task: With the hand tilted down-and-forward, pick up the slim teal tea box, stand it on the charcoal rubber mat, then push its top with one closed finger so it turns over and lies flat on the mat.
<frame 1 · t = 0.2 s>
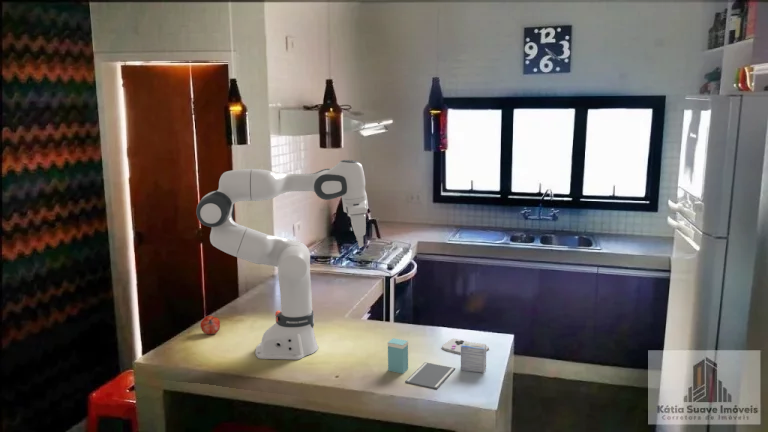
hand: (360, 243, 217), 39 cm above the worktop, tool pointing down, fingers open, 8 cm apart
handheld gaming console: (464, 350, 221), on the worktop
tea box: (398, 369, 204), on the worktop
orange pumpkin: (210, 333, 240), on the worktop
medicine box: (473, 369, 204), on the worktop
mat: (430, 375, 199), on the worktop
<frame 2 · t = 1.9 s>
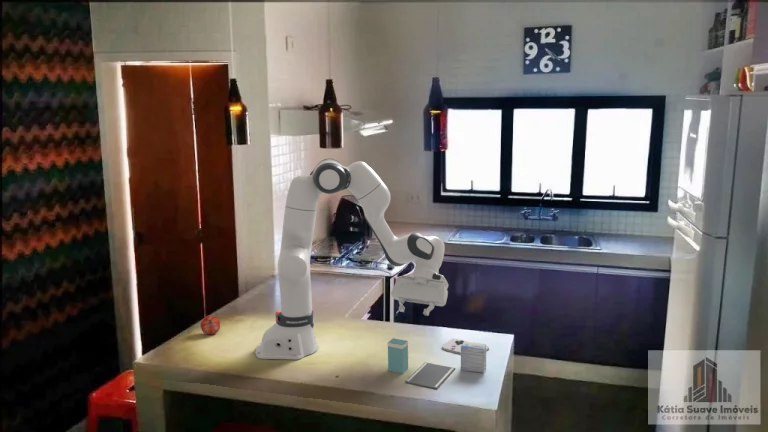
hand: (413, 312, 212), 16 cm above the worktop, tool tilted 45°, fingers open, 8 cm apart
nothing on the worktop moved.
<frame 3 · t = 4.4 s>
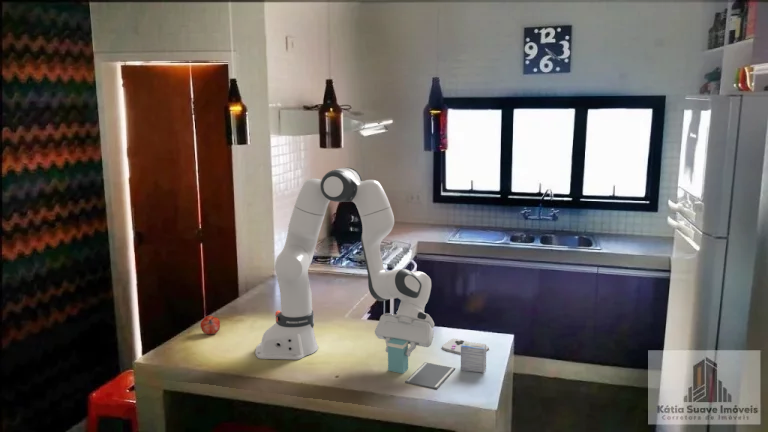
hand: (397, 353, 203), 6 cm above the worktop, tool tilted 45°, fingers closed on tea box, 5 cm apart
tea box: (398, 369, 204), on the worktop, touching gripper
everything else where it was.
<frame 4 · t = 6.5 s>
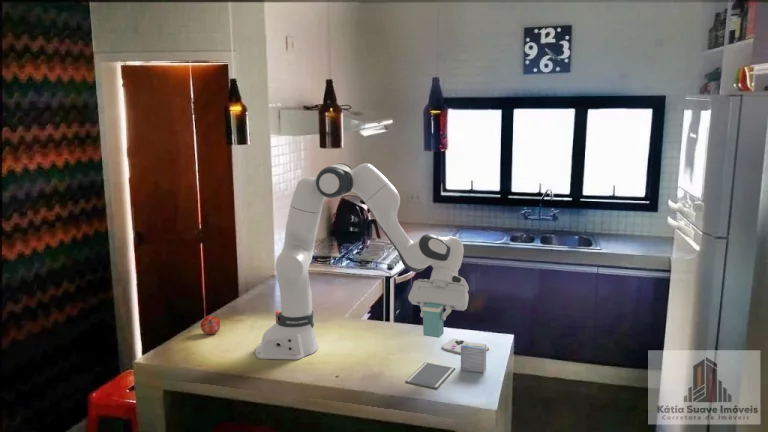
hand: (432, 318, 200), 18 cm above the worktop, tool tilted 45°, fingers closed on tea box, 5 cm apart
tea box: (433, 334, 201), point 12 cm above the worktop, touching gripper
everything else where it was.
when the fingers open (7 cm above the worktop, at t = 9.0 s): tea box drops 1 cm, resting on mat.
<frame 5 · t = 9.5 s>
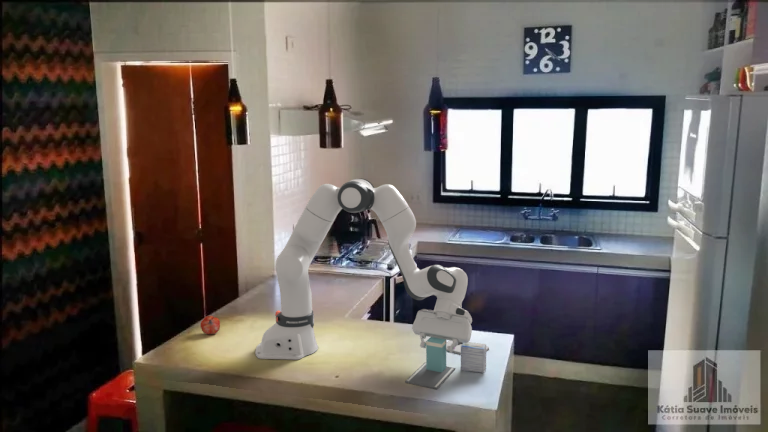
hand: (435, 349, 202), 7 cm above the worktop, tool tilted 45°, fingers open, 8 cm apart
tea box: (436, 368, 204), resting on mat
everything else where it was.
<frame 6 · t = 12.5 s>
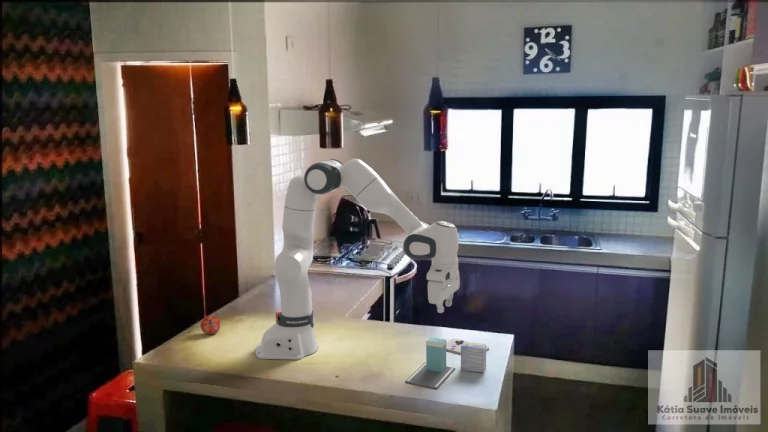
hand: (444, 308, 207), 19 cm above the worktop, tool pointing down, fingers open, 6 cm apart
nothing on the worktop moved.
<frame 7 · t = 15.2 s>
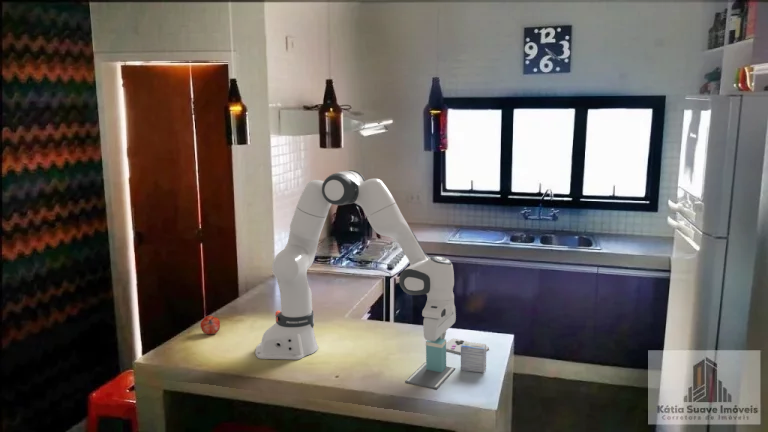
hand: (440, 344, 205), 8 cm above the worktop, tool pointing down, fingers closed
tea box: (436, 368, 204), resting on mat, touching gripper
everything else where it was.
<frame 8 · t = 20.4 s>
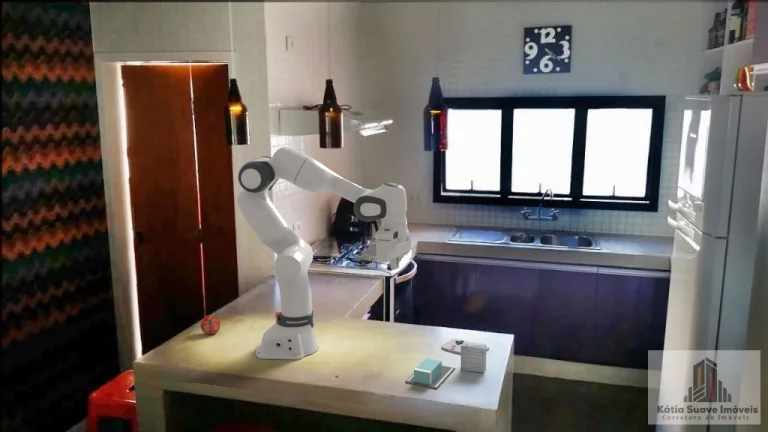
hand: (395, 268, 212), 31 cm above the worktop, tool pointing down, fingers closed
tea box: (433, 365, 201), point 2 cm above the worktop, tilted 90°, touching mat
everything else where it was.
at the end: tea box tilted 90°; tea box 2.9 cm from the mat (horizontally); the gripper is holding nothing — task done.
